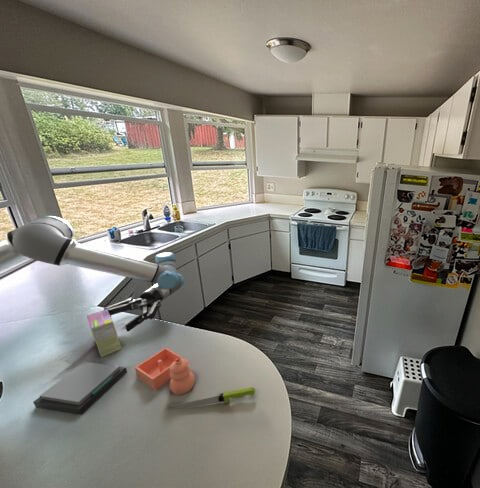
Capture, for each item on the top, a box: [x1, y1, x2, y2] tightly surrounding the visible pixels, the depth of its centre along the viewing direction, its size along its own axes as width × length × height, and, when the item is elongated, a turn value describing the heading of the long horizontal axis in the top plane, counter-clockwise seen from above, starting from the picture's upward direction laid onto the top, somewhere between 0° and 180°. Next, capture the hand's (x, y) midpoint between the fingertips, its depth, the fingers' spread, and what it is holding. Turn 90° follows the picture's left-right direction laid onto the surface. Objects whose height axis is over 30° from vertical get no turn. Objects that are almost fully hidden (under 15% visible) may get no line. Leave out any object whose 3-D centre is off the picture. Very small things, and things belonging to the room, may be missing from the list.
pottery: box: [134, 347, 196, 396], centre depth 76 cm, size 18×10×10 cm, turn 63°
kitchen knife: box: [170, 386, 256, 409], centre depth 70 cm, size 22×1×3 cm, turn 101°
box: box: [86, 309, 122, 358], centre depth 87 cm, size 10×6×12 cm, turn 47°
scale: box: [33, 361, 128, 416], centre depth 73 cm, size 14×14×3 cm
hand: (109, 326), depth 89 cm, fingers open, 13 cm apart
